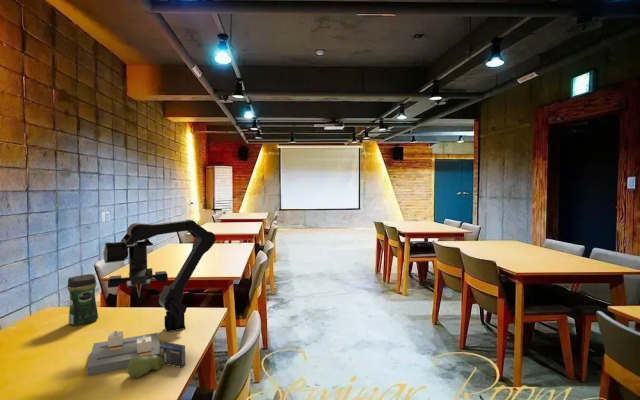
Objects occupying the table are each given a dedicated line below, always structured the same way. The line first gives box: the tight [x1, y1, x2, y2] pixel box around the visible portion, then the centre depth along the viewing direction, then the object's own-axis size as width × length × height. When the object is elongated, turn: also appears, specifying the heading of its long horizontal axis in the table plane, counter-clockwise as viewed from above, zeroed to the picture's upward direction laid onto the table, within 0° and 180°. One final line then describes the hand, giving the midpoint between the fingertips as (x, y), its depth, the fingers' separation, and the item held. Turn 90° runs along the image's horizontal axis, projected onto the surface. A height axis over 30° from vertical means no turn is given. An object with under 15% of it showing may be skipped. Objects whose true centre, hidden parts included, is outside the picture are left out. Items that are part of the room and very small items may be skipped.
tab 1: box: [107, 330, 124, 347], centre depth 119 cm, size 4×4×4 cm
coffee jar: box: [66, 273, 99, 326], centre depth 146 cm, size 10×8×19 cm
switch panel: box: [86, 332, 160, 377], centre depth 116 cm, size 19×18×3 cm
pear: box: [126, 355, 164, 378], centre depth 106 cm, size 6×5×10 cm
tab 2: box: [137, 336, 152, 353], centre depth 114 cm, size 4×4×4 cm
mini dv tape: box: [159, 341, 187, 368], centre depth 110 cm, size 8×2×6 cm, turn 69°
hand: (139, 303), depth 131 cm, fingers closed
